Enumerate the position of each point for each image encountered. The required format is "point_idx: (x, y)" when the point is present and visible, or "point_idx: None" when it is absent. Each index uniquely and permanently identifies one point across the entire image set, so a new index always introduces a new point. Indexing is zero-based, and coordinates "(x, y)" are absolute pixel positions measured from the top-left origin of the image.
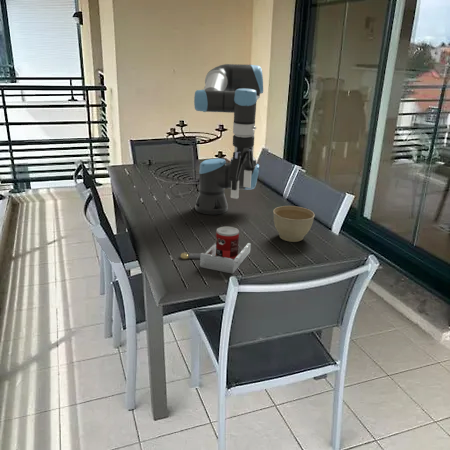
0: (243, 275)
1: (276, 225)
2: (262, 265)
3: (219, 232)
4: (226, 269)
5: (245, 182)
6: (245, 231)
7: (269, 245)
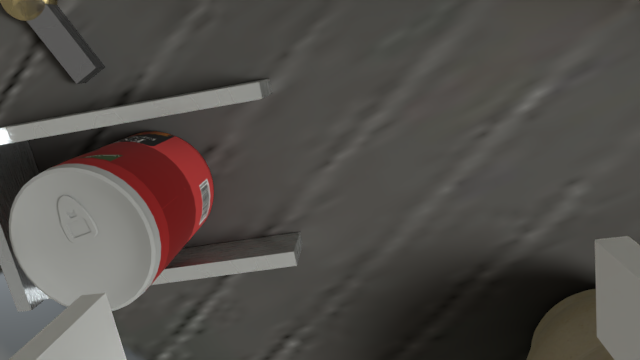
0: None
1: (551, 339)
2: (209, 345)
3: (12, 216)
4: None
5: (635, 307)
6: (557, 91)
7: (432, 290)
